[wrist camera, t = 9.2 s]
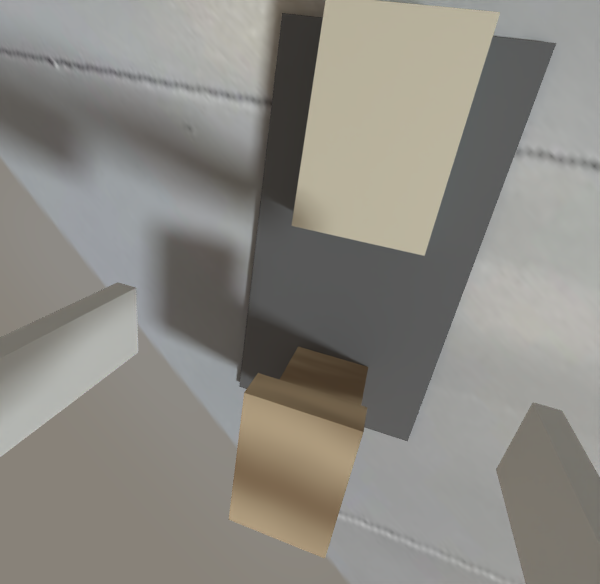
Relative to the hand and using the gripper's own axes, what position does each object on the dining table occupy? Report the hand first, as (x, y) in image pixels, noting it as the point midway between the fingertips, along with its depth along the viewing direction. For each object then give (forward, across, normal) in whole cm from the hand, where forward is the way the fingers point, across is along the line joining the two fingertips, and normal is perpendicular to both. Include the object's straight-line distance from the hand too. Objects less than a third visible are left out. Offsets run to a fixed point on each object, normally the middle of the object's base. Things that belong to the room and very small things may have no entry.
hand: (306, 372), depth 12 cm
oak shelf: (+12, 0, -8) cm, 14 cm away
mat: (+12, 0, 0) cm, 12 cm away
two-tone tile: (+9, 0, +7) cm, 11 cm away
